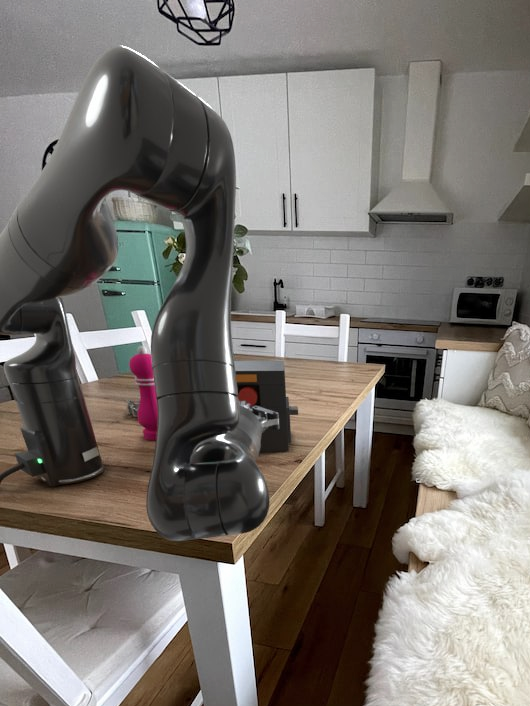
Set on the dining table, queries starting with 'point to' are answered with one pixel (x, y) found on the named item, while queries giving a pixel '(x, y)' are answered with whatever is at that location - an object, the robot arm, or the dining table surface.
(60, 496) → the dining table surface
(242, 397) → the power button
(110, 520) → the dining table surface
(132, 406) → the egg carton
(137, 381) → the pepper mill
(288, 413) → the grey button box
